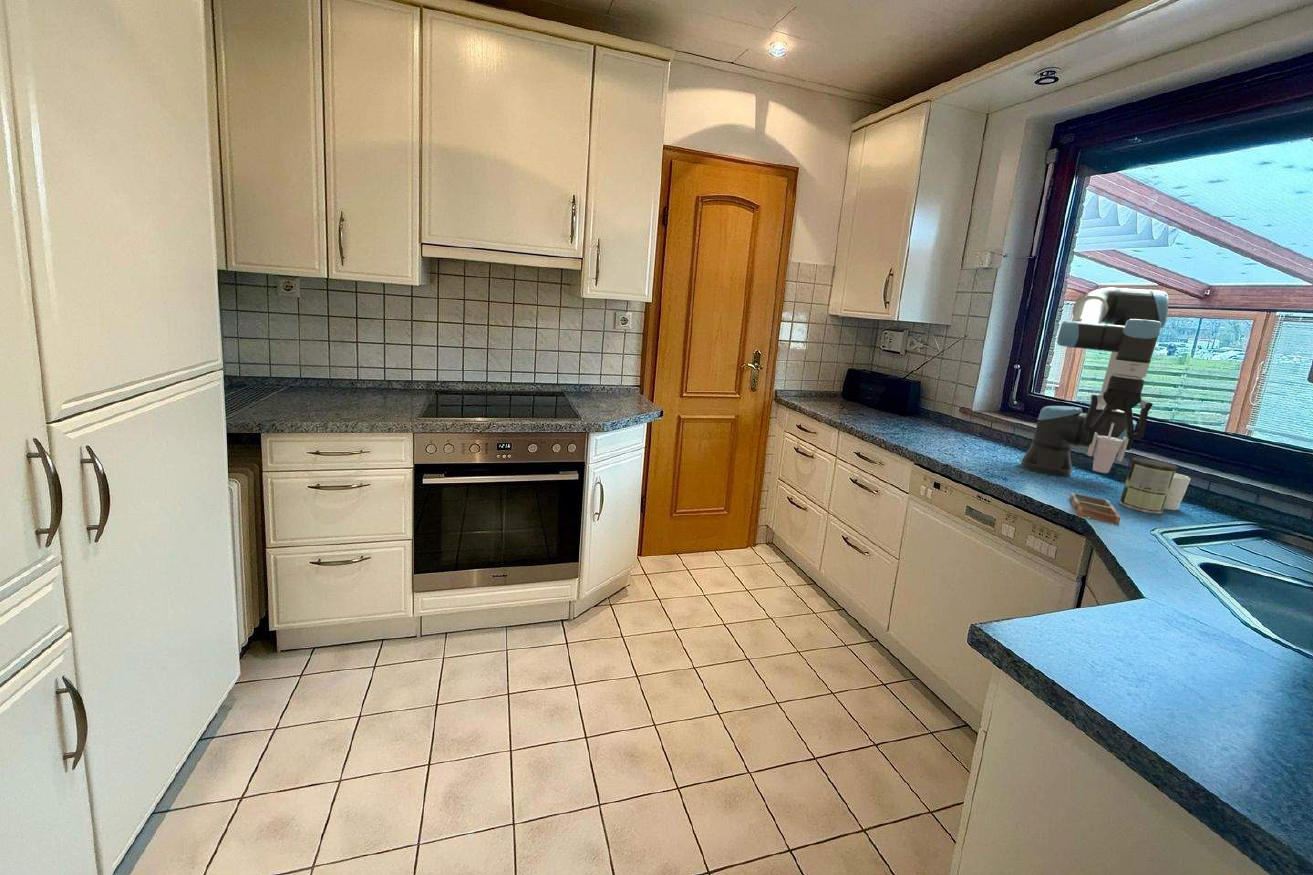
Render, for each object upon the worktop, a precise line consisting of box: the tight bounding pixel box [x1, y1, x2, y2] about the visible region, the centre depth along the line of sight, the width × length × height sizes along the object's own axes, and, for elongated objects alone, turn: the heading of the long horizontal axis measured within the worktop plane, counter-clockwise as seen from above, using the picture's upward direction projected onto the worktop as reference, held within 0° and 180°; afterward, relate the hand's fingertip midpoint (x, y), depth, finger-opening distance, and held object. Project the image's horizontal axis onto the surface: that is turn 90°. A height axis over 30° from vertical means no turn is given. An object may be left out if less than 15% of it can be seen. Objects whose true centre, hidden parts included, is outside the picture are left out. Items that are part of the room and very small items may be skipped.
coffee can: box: [1119, 456, 1178, 515], centre depth 171 cm, size 10×10×14 cm
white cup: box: [1163, 472, 1191, 511], centre depth 175 cm, size 8×8×10 cm
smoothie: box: [1092, 423, 1124, 474], centre depth 164 cm, size 6×6×14 cm
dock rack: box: [1068, 492, 1122, 525], centre depth 164 cm, size 18×9×2 cm, turn 151°
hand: (1104, 457), depth 165 cm, fingers closed on smoothie, 6 cm apart
